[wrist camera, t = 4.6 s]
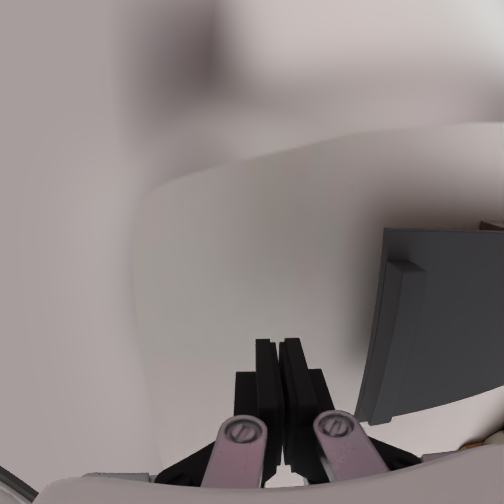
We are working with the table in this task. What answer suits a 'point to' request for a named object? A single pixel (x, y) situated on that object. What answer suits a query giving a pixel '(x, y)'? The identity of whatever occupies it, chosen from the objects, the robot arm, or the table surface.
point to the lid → (434, 321)
